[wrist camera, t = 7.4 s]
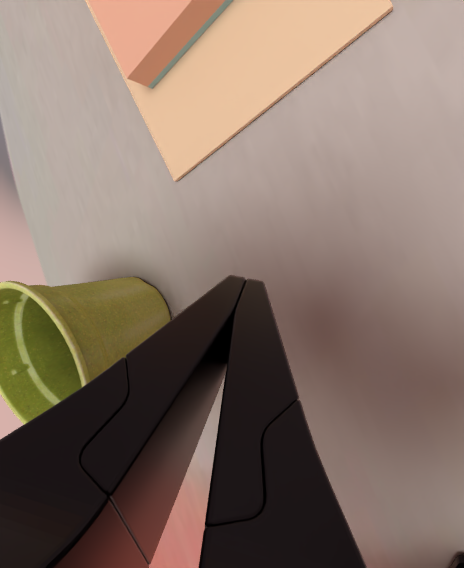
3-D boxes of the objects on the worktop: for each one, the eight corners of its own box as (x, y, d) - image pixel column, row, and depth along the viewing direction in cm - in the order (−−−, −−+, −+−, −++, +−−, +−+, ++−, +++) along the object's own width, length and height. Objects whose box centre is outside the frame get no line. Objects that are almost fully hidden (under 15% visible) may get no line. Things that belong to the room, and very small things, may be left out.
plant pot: (82, 279, 27) (-42, 313, 19) (154, 232, 22) (25, 254, 14) (129, 378, 27) (26, 448, 20) (211, 355, 22) (114, 438, 15)
